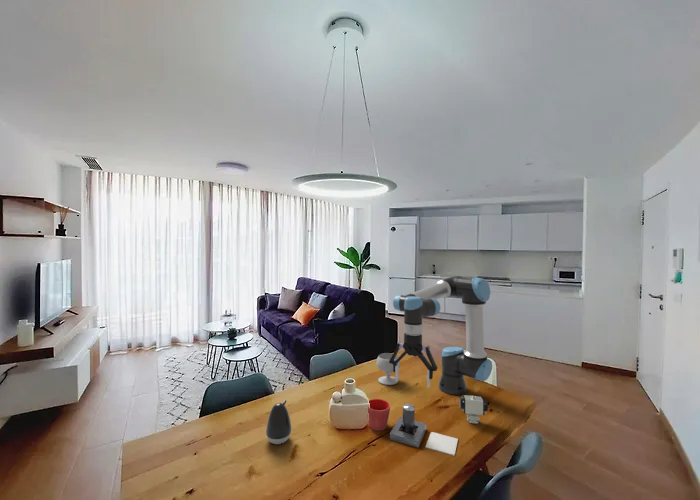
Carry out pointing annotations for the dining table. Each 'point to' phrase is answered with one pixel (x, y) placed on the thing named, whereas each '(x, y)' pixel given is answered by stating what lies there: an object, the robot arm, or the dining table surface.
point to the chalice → (386, 368)
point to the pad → (442, 443)
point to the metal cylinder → (409, 418)
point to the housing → (406, 437)
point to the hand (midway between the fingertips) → (412, 383)
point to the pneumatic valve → (473, 407)
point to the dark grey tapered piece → (278, 424)
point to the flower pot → (378, 414)
